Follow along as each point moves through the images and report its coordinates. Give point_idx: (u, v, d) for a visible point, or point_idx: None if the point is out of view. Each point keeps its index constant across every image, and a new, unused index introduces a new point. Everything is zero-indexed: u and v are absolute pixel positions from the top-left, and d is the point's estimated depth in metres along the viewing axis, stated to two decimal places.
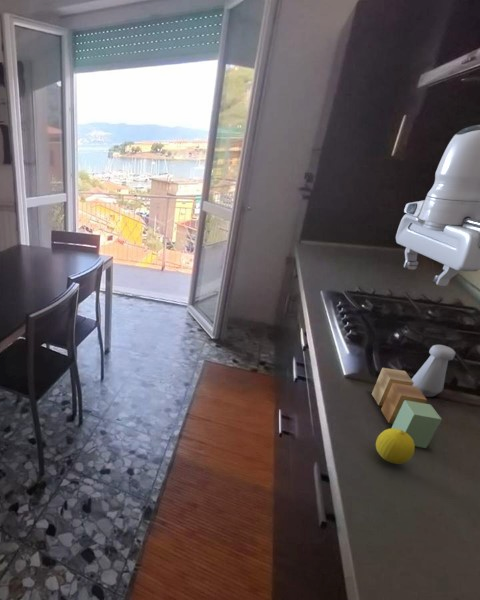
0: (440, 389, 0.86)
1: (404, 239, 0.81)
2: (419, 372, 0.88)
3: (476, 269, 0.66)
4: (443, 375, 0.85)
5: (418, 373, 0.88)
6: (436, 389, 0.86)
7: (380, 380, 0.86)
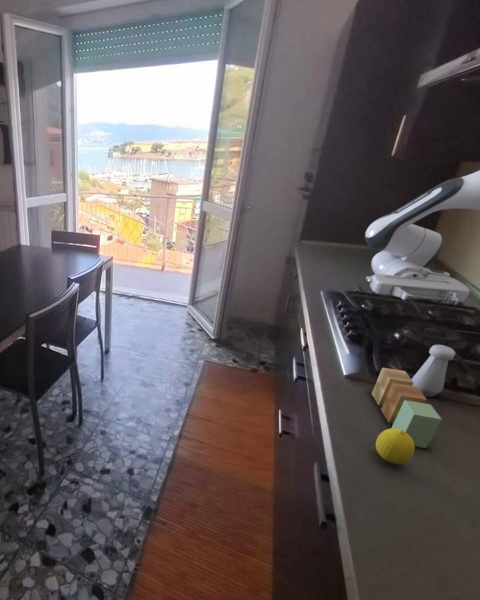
0: (440, 389, 0.86)
1: None
2: (419, 372, 0.88)
3: (377, 284, 0.98)
4: (443, 375, 0.85)
5: (418, 373, 0.88)
6: (436, 389, 0.86)
7: (380, 380, 0.86)
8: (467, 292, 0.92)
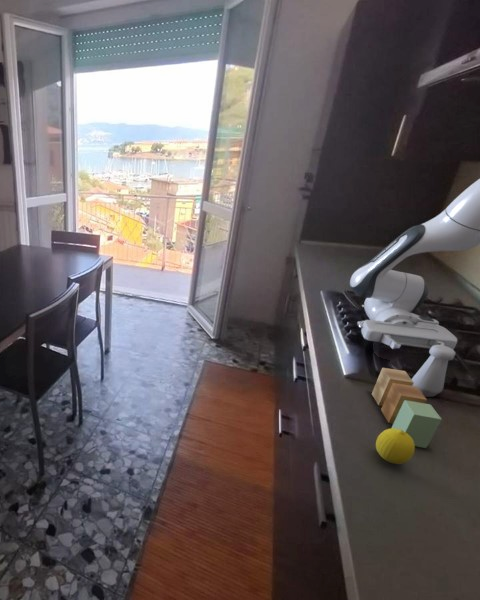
0: (440, 389, 0.86)
1: None
2: (419, 372, 0.88)
3: (368, 331, 1.01)
4: (443, 375, 0.85)
5: (418, 373, 0.88)
6: (436, 389, 0.86)
7: (380, 380, 0.86)
8: (455, 342, 0.94)
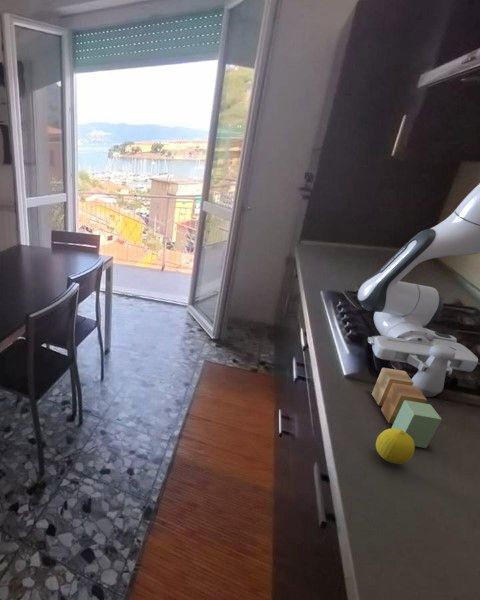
0: (440, 389, 0.86)
1: None
2: (419, 372, 0.88)
3: (380, 349, 0.93)
4: (443, 375, 0.85)
5: (418, 373, 0.88)
6: (436, 389, 0.86)
7: (380, 380, 0.86)
8: (475, 362, 0.86)
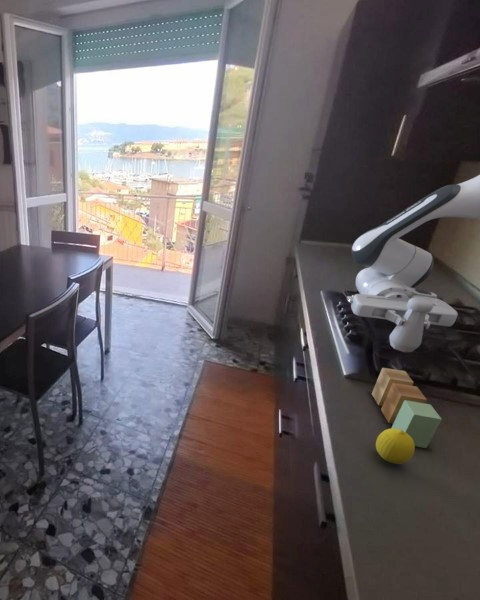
0: (418, 343, 0.83)
1: None
2: (397, 327, 0.85)
3: (358, 306, 0.90)
4: (421, 328, 0.82)
5: (396, 328, 0.86)
6: (414, 343, 0.83)
7: (380, 380, 0.86)
8: (455, 316, 0.84)
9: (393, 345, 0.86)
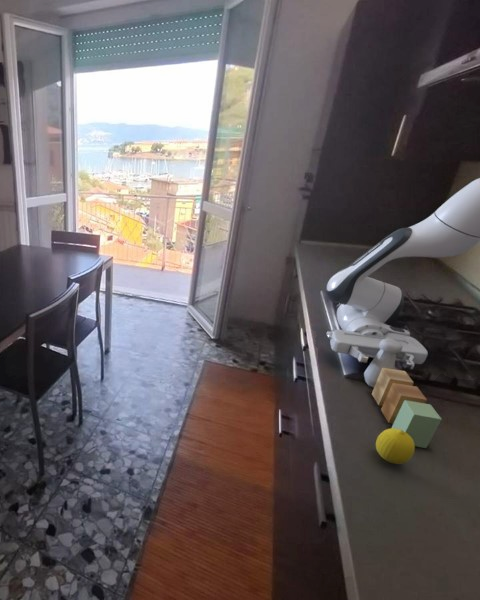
0: None
1: None
2: (370, 365, 0.91)
3: (335, 343, 0.96)
4: (392, 368, 0.88)
5: (369, 366, 0.91)
6: None
7: (380, 380, 0.86)
8: (425, 355, 0.89)
9: (367, 382, 0.92)
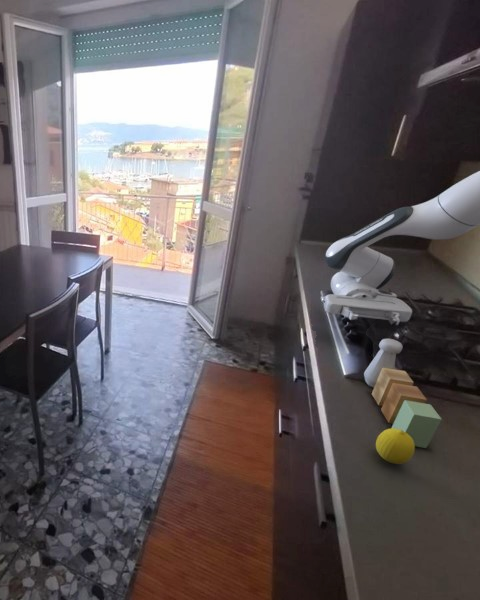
0: None
1: None
2: (370, 365, 0.91)
3: (328, 304, 1.04)
4: (392, 368, 0.88)
5: (369, 366, 0.91)
6: None
7: (380, 380, 0.86)
8: (409, 313, 0.98)
9: (367, 382, 0.92)
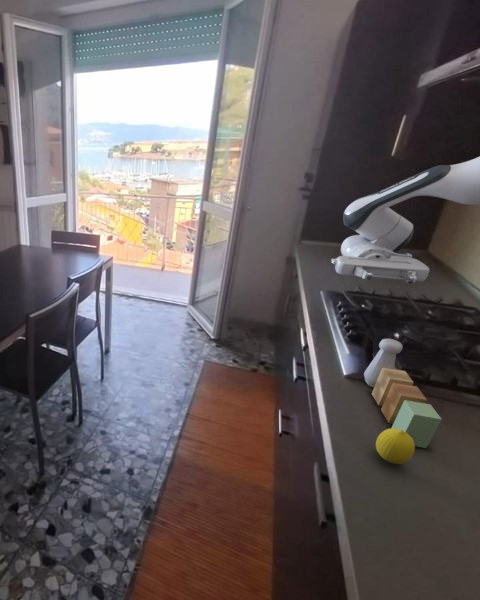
0: None
1: None
2: (370, 365, 0.91)
3: (340, 265, 0.99)
4: (392, 368, 0.88)
5: (369, 366, 0.91)
6: None
7: (380, 380, 0.86)
8: (426, 271, 0.93)
9: (367, 382, 0.92)
